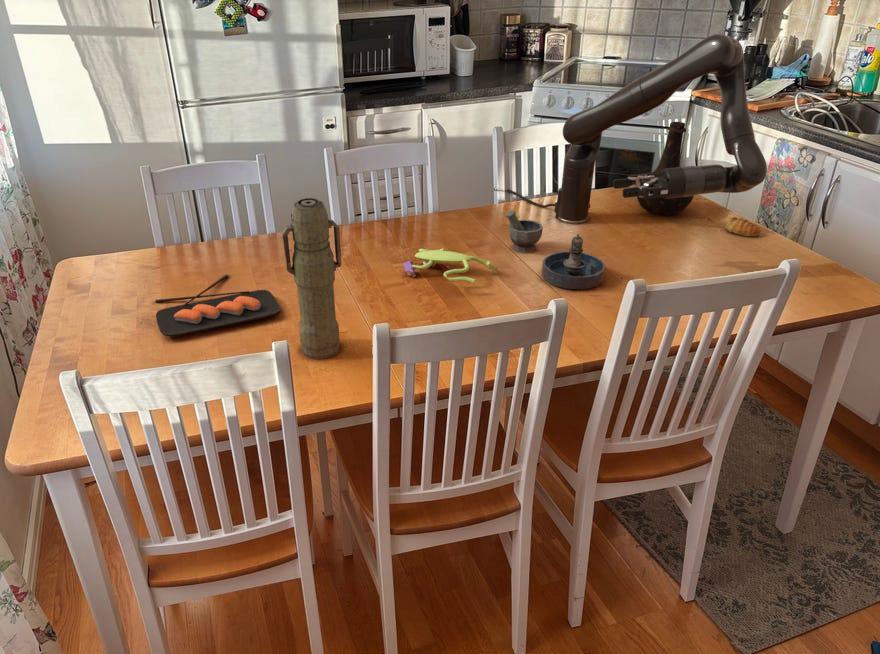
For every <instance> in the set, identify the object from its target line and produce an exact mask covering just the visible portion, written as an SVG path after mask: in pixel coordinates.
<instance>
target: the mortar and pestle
mask: <svg viewBox="0 0 880 654" xmlns="http://www.w3.org/2000/svg"><path fill="white" fill-rule="evenodd" d="M505 217H506V218H507V219H508V222H509V223H508V234H509V239H510V241H511V242H512V243H513V246H512V247H513V250H514V251H516V252H519V253H530V252H531V253H532V252H533V251H535V249H536V248H535V245H536V244H537V243H538V242H539V241H540V240H541V238H542V236H543V231H544V230H543V228H544V227H543V224H542V223H540V222H538V221H536V220H530V219H519V218H518V216H517V215H516V211H515V210H514V209H511V210H508V211H507V212H506V213H505Z"/></svg>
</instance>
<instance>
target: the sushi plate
mask: <svg viewBox="0 0 880 654" xmlns="http://www.w3.org/2000/svg"><path fill="white" fill-rule="evenodd" d="M228 277H229V274H225V275H223V276H222V277H220V278H219V279H218V280H217V281H215V282H213V283H212V284H211V285H209V286H208V287H207V288H206V289H204V290H203V291H201V292H200V293H198V294H197V295H194V296H193V295H192V296H184V297H183V296H182V297H172V298H160V299H155V303H167V302H174V301H184V300H188V301H187V302H185V303H183V304H179V305H175V306H174V305H173V306H170V307H169V306H168V307H166V308H162V309H159V310H158V311H157V312H156V313H155V319H156V323H157V326H158V329H159V331H160V333H161V334H162V336H164V337H178V336H182V335H188V334H193V333H198V332H203V331H208V330H213V329H217V328H221V327H226V326H227V327H228V326H231V325H236V324H240V323H241V324H242V323H245V322H250V321H255V320H259V319H260V320H261V319H266V318H268V317H273V316H275V315H278V314H280V313H281V306H280V303H279V302H278V301H277V299H276V298H275V296H274V294H272V292H271V291H269V290H267V289H257V290H251V291H250V290H245V291H234V292H225V293H215V294H205V293H206V292H207V291H209V290H211V289H212V288H214V287H215V286H217V285H218V284H220V283H222V282H223V281H224V280H226V279H227V278H228ZM203 294H204V295H203ZM219 296H220V297H219ZM210 297H215V298H210ZM200 298H201V299H202V298H210V299H205V300H199V301H195V302H192V301H194V300H196V299H200Z"/></svg>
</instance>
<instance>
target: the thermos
mask: <svg viewBox="0 0 880 654" xmlns="http://www.w3.org/2000/svg"><path fill="white" fill-rule="evenodd" d="M290 217H291V218H290V224H287V225H285V227H284V229H282V232H281V237H282V245H283V252H284V254H283V255H284V263H285V264H284V265H285V270H286V271H287V273H289V274H290V275H293V281H294V283H295V285H296V289H297V299H298V308H299V322H298V333H299V342H300V344H301V353H302V354H303V356H304V357H306V358H308V359H312V360H324V359H329V358H332V357H335V356H336V355H337V354H338V353H339V351H340V348H341V347H340V339H341V338H340V326H339V322H338V320H337V315H336V303H335V289H334V287H335V286H334V283H335V281H336V272H337V269H338V268H340V267H342V252H341V251H342V247H341V233H340V232H341V231H340V227H339V225H338V224H337V223H336V222H335V220H333V219H329V214H328V211H327V208H326V206H325V204H324V202H323V201H322V200H320V199H318V198H314V197H305V198H301V199H299V200H297V201H295V202H294V203H293V206H292V209H291V214H290ZM332 227H333V237H334V238H333V239H334V252H333V251H332V248H331V242H330V240H329V239H330V229H332ZM291 232H292V240H293V242H294V243H293V253H292V258H291V252H290V242H289V234H290V233H291ZM334 253H335V255H334ZM334 256H335V257H334Z"/></svg>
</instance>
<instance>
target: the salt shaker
mask: <svg viewBox="0 0 880 654" xmlns="http://www.w3.org/2000/svg"><path fill="white" fill-rule="evenodd" d="M583 243H584V238H583V237H581V236H580V234H579V233H577V234H576V236H574V237H572V239H571V244H570V248H569V249H568V252H570V257H569V259H567V260H565V261H564V262H563V264H564V267H565V270H566V272H564V273H563V275H568V276H583V274H582V273H580V272H582V271H583V269H584V267H585V266H586V263H585V262H584V261H582V260H581V255H582V253H584V249H583Z"/></svg>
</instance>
